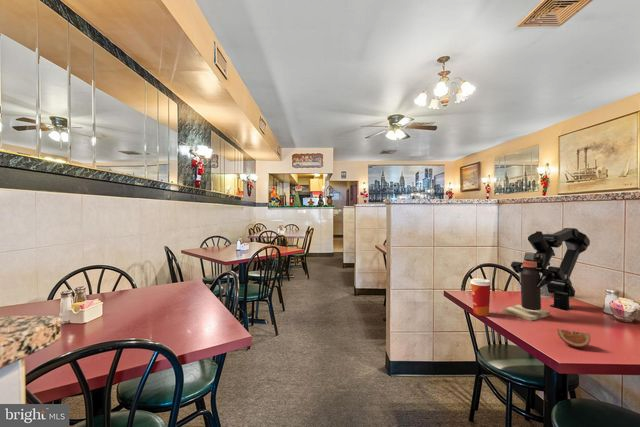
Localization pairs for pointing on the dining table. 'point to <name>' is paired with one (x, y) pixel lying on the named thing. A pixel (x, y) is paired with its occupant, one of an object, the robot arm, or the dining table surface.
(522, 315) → the napkin
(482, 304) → the coffee cup
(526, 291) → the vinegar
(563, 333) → the fruit slice
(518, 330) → the dining table surface
